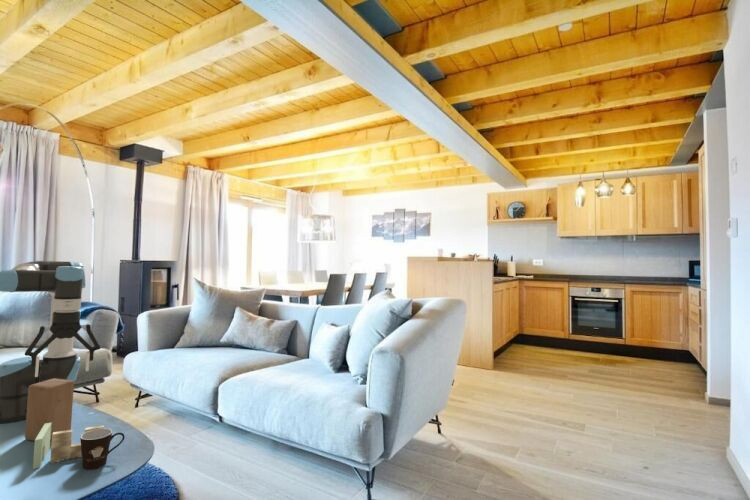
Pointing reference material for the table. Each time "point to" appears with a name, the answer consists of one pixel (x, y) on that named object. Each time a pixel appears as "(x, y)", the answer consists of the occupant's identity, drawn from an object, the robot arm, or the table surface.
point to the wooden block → (49, 406)
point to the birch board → (66, 445)
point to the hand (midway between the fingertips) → (62, 373)
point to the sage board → (42, 445)
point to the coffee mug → (96, 447)
